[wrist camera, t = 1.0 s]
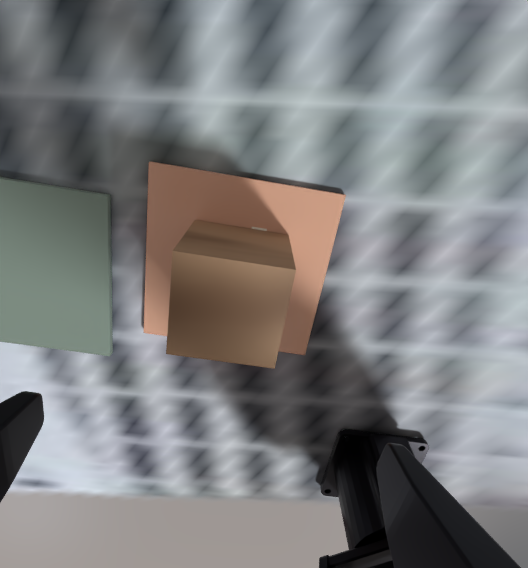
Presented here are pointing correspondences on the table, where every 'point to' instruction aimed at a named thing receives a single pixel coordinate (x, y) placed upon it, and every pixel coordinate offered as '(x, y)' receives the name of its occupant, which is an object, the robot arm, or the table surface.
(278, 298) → the walnut block
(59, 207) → the green mat
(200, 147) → the table surface
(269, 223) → the tile
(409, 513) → the robot arm
